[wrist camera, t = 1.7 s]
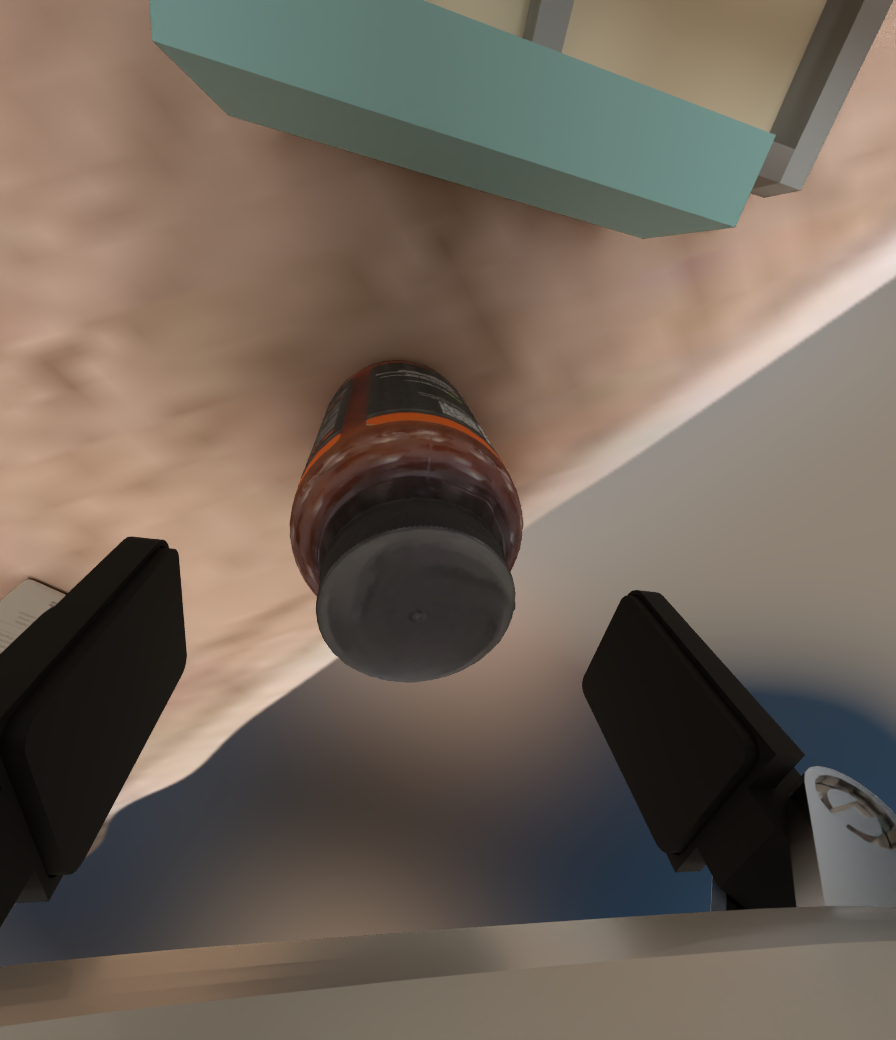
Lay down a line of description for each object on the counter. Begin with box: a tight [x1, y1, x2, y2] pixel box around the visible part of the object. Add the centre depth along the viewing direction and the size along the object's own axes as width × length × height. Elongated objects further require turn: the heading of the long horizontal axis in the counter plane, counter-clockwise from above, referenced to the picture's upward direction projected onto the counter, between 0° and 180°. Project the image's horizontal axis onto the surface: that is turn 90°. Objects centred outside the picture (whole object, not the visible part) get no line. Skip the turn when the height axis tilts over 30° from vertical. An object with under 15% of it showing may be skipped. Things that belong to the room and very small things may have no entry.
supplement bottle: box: [290, 361, 523, 682], centre depth 13 cm, size 6×6×11 cm
